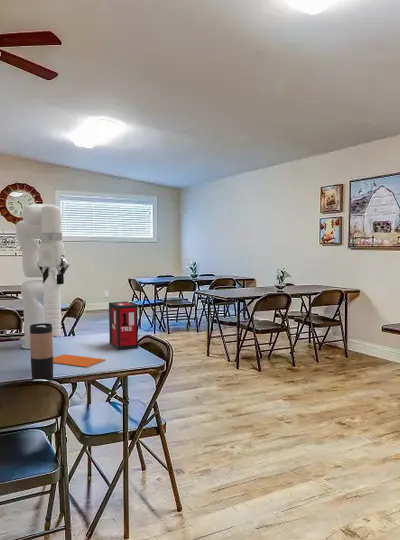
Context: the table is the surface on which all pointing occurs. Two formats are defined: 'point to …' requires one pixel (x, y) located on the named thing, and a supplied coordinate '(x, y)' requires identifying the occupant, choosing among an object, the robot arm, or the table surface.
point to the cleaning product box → (123, 325)
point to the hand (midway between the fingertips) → (53, 283)
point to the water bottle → (52, 303)
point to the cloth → (76, 360)
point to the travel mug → (41, 351)
